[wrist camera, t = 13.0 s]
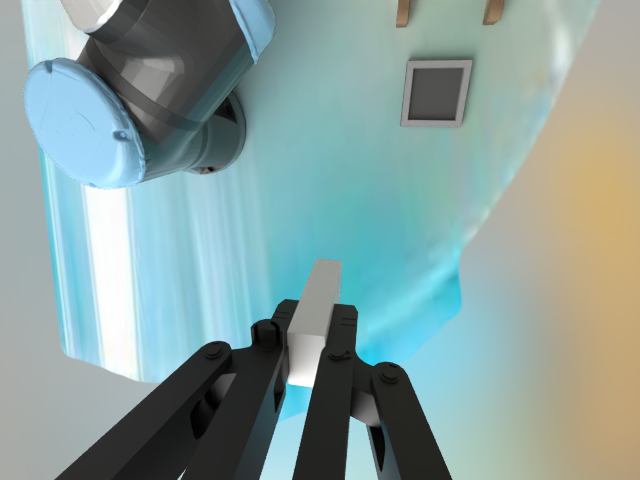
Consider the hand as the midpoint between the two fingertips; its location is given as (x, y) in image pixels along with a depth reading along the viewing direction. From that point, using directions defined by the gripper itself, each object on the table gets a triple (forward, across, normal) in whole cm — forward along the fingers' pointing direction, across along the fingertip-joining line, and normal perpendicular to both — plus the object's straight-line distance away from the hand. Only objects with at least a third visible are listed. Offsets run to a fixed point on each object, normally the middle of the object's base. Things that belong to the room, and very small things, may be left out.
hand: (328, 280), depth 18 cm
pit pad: (+32, +10, +12) cm, 36 cm away
